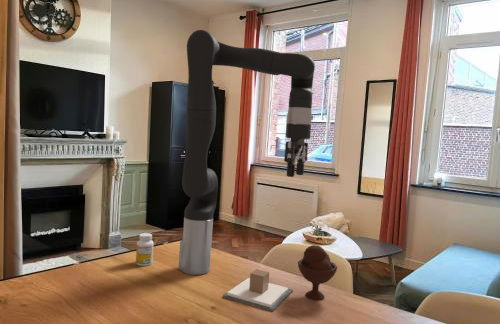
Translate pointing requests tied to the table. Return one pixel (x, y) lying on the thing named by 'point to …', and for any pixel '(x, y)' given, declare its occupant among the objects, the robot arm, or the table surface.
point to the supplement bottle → (144, 250)
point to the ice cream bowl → (316, 270)
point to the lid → (258, 289)
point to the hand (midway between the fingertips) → (295, 175)
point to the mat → (259, 304)
